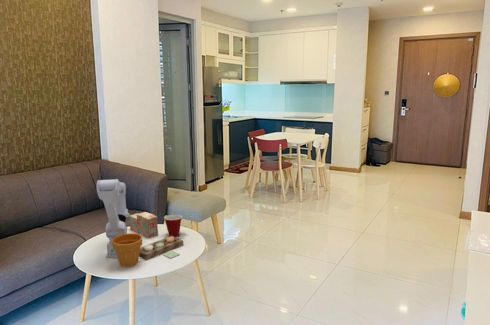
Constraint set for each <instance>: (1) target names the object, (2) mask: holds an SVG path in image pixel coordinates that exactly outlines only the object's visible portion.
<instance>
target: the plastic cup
mask: <svg viewBox="0 0 490 325" xmlns="http://www.w3.org/2000/svg"><path fill="white" fill-rule="evenodd" d="M163 219H164V222H165V226H166V230H167V234H168V237H170V236H174V237H176V238H178V237H179V236H180V231H181V223H182V219H183V215H180V214H170V215H169V214H168V215H165V216H164V217H163Z"/></svg>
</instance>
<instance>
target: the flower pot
mask: <svg viewBox="0 0 490 325" xmlns="http://www.w3.org/2000/svg"><path fill="white" fill-rule="evenodd" d="M112 246H113V249H114V250H115V251H116V254H117V257H118V258H117V260H118V263H119V266H121V267H124V268H130V267H133V266H136V265H138V263H139V260H140V257H139V254H140V247H143V235H141V234H139V233H132V232H131V233H127V234H123V235H119V236H117V237H115V238H114V239H113V240H112Z"/></svg>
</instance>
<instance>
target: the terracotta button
mask: <svg viewBox="0 0 490 325" xmlns="http://www.w3.org/2000/svg"><path fill="white" fill-rule="evenodd" d="M165 238H166V242H167V243H172V242H174V237H169V236H167V237H165Z"/></svg>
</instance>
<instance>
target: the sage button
mask: <svg viewBox="0 0 490 325" xmlns="http://www.w3.org/2000/svg"><path fill="white" fill-rule="evenodd" d="M162 246H164V243H162V242H159V243H156V247H158V248H159V247H162Z"/></svg>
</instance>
